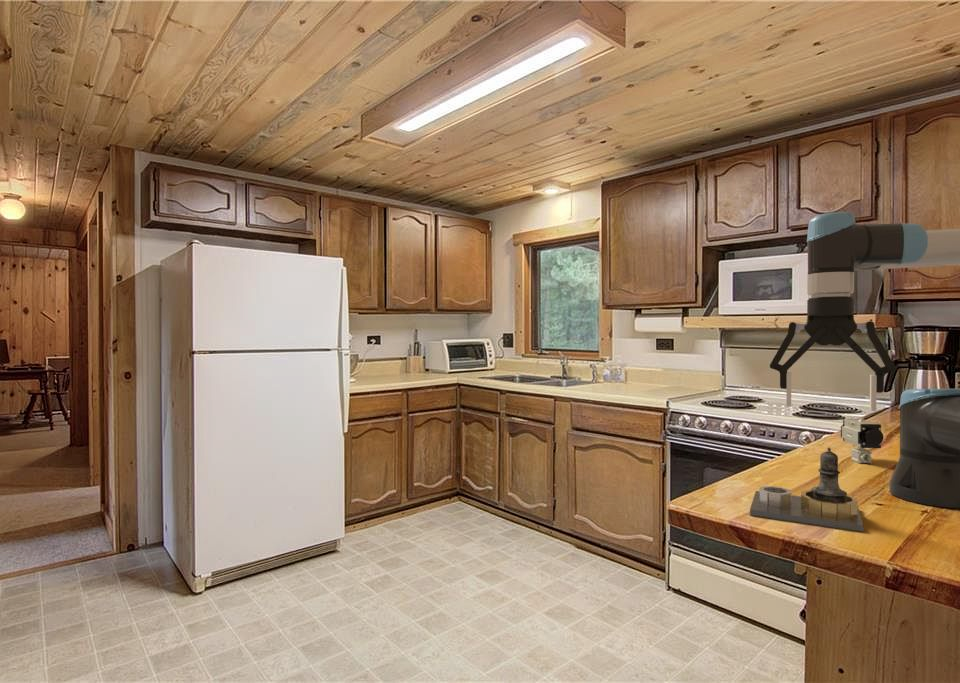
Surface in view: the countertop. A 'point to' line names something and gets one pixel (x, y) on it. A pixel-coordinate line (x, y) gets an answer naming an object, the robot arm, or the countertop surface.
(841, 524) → the plate
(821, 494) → the salt shaker
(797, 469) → the countertop surface
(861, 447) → the pneumatic valve
